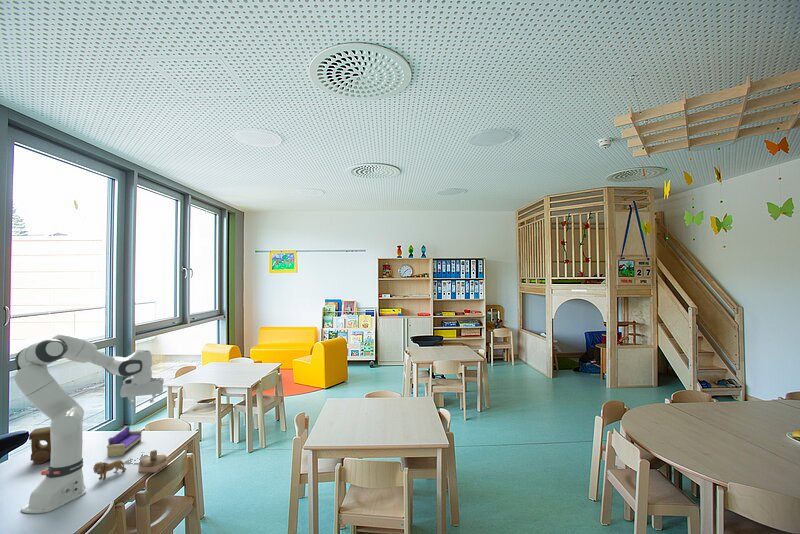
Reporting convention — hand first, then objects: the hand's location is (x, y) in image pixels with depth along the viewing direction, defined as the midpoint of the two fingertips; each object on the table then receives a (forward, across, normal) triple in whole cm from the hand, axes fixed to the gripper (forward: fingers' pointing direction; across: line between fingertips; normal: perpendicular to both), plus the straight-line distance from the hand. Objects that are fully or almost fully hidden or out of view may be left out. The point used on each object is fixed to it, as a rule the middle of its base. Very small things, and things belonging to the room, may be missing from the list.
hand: (141, 403), depth 216 cm
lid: (+25, -10, +20) cm, 34 cm away
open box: (+29, -10, +20) cm, 37 cm away
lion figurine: (+29, +8, +22) cm, 38 cm away
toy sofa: (+29, +11, -13) cm, 34 cm away
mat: (+29, -3, +6) cm, 30 cm away
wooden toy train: (+29, +43, -12) cm, 53 cm away
